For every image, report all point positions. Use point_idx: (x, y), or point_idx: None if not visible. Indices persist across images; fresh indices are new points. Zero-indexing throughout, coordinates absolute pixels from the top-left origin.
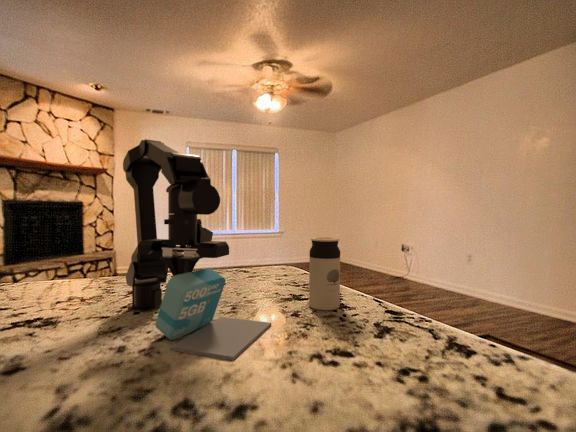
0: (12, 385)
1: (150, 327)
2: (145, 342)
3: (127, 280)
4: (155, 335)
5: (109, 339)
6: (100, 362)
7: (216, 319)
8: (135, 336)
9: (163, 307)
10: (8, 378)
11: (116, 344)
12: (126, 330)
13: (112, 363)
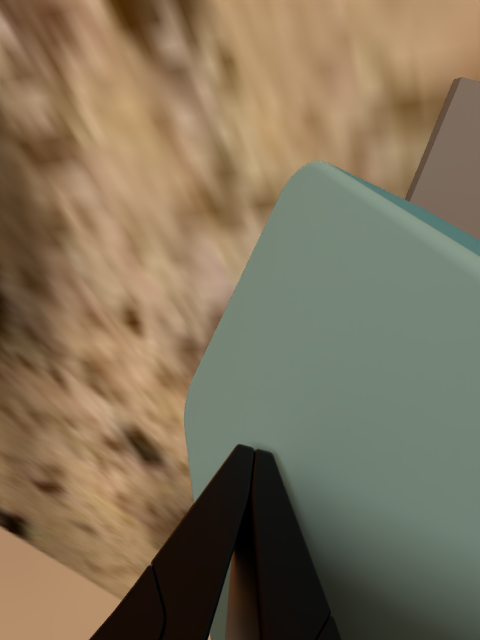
0: (70, 562)
1: (102, 270)
2: (183, 408)
3: None
4: (180, 352)
5: (51, 389)
6: (150, 507)
7: (434, 149)
8: (114, 364)
9: None
10: (36, 545)
11: (104, 422)
12: (35, 310)
13: (182, 512)
